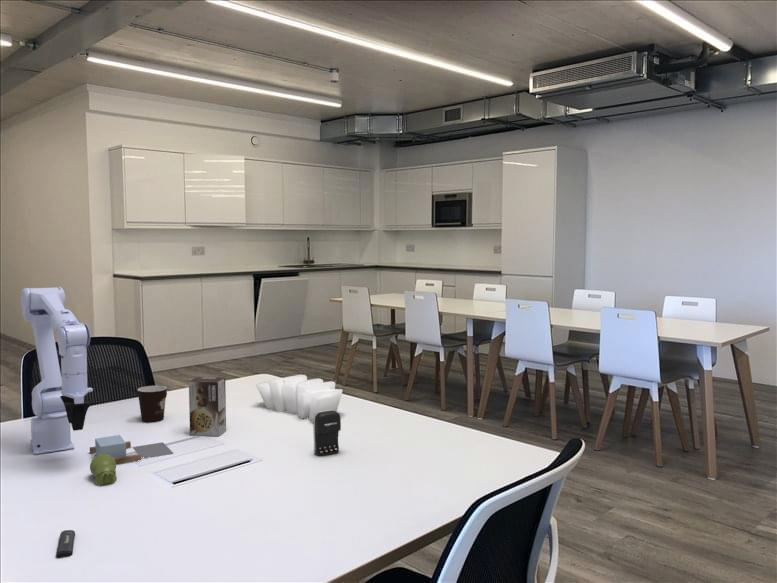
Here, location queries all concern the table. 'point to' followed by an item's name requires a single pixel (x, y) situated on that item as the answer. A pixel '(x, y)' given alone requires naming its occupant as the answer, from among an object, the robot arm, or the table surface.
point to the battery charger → (326, 432)
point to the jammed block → (110, 446)
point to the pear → (103, 469)
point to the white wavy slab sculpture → (300, 395)
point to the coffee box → (207, 406)
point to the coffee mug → (152, 403)
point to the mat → (153, 450)
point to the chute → (124, 458)
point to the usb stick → (65, 544)
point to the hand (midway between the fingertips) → (75, 426)
